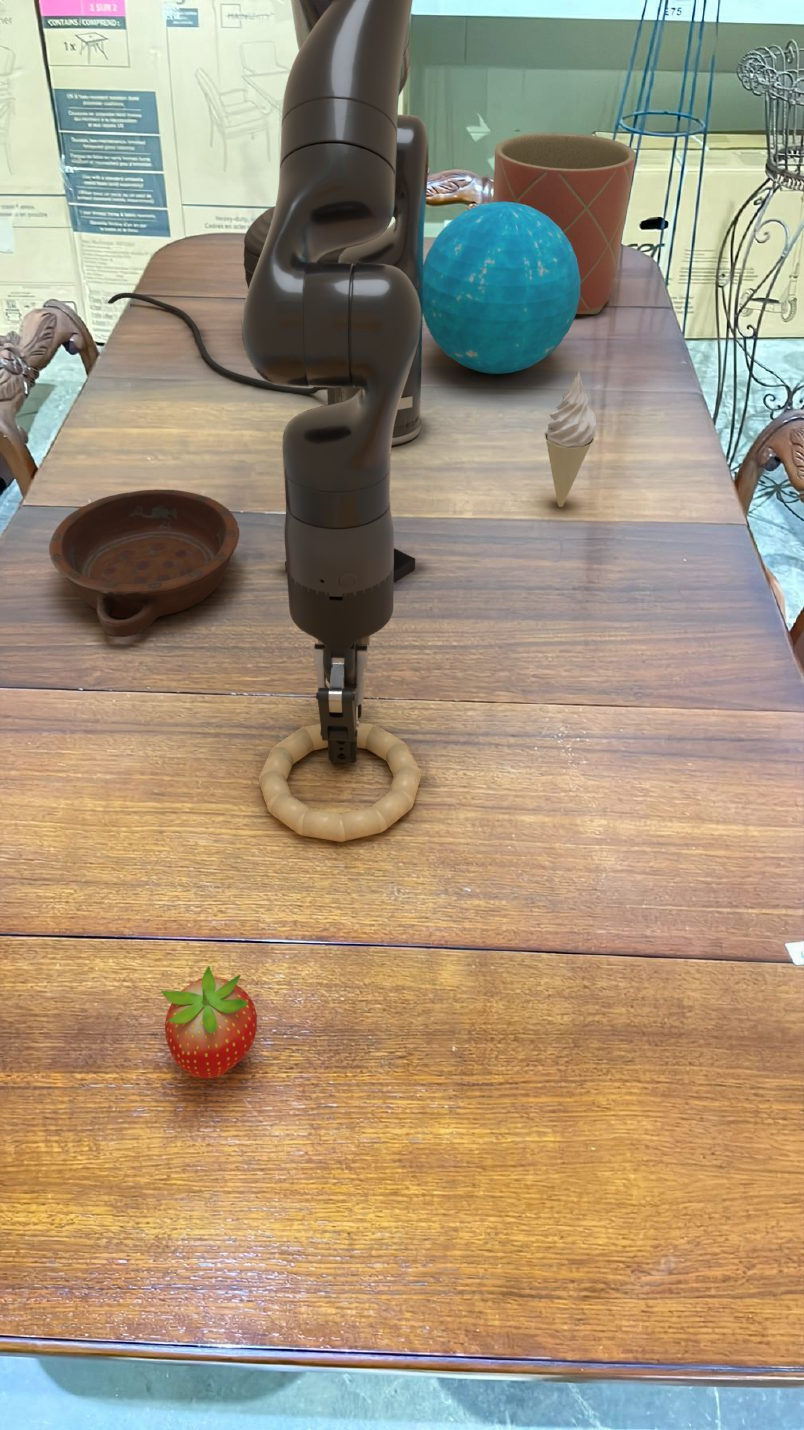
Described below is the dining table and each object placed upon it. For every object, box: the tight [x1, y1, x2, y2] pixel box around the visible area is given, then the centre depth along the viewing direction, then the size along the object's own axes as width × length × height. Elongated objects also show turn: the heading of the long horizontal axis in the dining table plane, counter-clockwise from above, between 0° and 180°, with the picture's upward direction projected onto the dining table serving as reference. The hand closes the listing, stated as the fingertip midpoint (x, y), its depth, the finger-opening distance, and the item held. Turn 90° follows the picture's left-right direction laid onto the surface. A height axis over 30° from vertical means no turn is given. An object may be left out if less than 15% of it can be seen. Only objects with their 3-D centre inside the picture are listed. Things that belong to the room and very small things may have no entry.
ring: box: [258, 722, 422, 843], centre depth 82 cm, size 12×12×2 cm
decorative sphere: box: [423, 201, 580, 375], centre depth 135 cm, size 20×20×20 cm
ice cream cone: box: [543, 371, 597, 508], centre depth 110 cm, size 5×5×15 cm
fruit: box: [160, 965, 258, 1079], centre depth 63 cm, size 5×5×8 cm
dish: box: [48, 488, 240, 638], centre depth 102 cm, size 18×22×5 cm
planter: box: [492, 132, 637, 315], centre depth 153 cm, size 19×19×20 cm
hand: (345, 737), depth 87 cm, fingers open, 4 cm apart
